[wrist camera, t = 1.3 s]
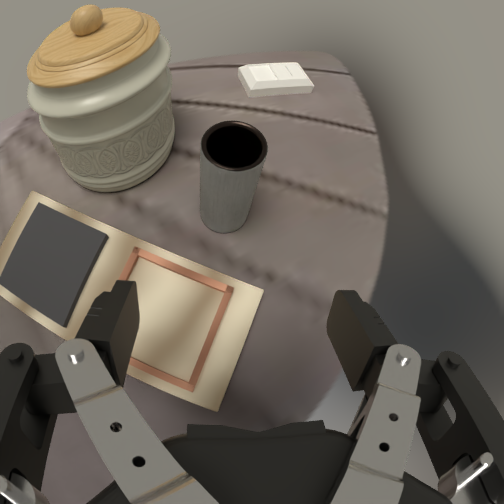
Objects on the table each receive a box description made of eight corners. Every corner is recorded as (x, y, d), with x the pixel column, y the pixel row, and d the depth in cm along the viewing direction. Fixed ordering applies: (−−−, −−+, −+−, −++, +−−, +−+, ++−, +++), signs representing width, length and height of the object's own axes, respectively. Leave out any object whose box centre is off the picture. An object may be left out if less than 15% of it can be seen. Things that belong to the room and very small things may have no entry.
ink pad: (1, 284, 22) (-3, 282, 21) (41, 205, 25) (38, 201, 25) (66, 327, 22) (62, 326, 22) (108, 237, 26) (106, 233, 25)
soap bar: (310, 94, 38) (316, 81, 35) (248, 100, 36) (251, 84, 33) (295, 73, 39) (300, 60, 37) (237, 77, 37) (239, 62, 34)
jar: (169, 97, 34) (166, -31, 17) (183, 181, 30) (177, 24, 13) (70, 119, 31) (30, 4, 14) (63, 208, 27) (-20, 83, 10)
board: (-9, 285, 23) (-19, 281, 21) (36, 195, 27) (29, 187, 25) (216, 409, 23) (217, 413, 22) (261, 293, 27) (265, 288, 26)
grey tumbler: (226, 243, 28) (239, 183, 19) (190, 213, 29) (186, 144, 19) (256, 210, 30) (281, 144, 20) (221, 183, 30) (231, 110, 21)
